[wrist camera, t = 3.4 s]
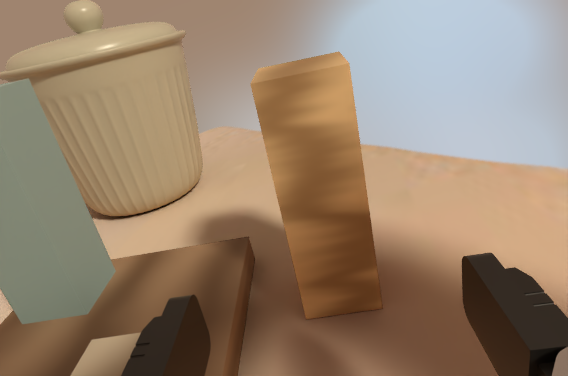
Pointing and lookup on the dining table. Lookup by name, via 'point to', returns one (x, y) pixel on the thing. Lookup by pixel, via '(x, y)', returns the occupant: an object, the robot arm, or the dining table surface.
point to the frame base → (142, 306)
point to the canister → (117, 109)
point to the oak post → (320, 181)
